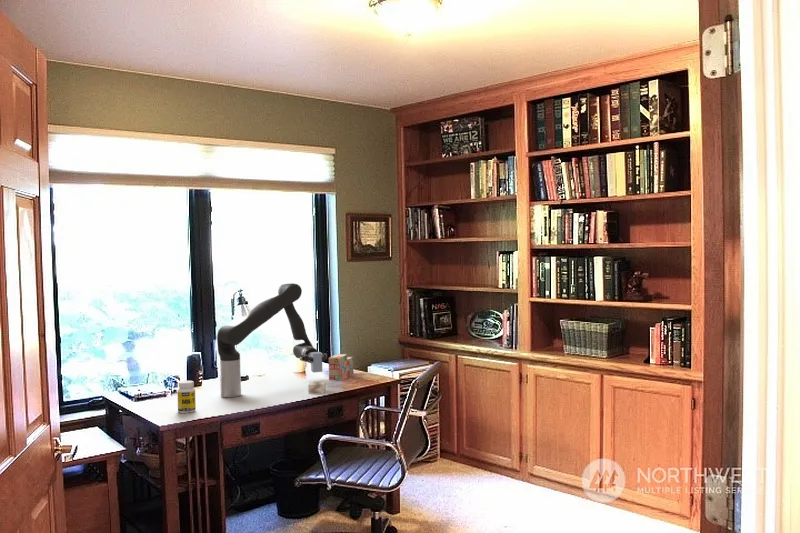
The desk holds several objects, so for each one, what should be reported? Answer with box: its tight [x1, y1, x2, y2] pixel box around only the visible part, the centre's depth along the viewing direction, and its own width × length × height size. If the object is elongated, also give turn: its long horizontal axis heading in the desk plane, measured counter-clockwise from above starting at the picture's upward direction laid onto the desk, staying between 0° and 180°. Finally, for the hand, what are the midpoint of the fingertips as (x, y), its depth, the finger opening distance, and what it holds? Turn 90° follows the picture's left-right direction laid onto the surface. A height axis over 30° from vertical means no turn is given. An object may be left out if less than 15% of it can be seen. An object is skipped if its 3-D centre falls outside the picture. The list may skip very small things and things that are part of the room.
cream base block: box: [307, 380, 327, 395], centre depth 315 cm, size 8×8×4 cm
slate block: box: [310, 351, 323, 373], centre depth 315 cm, size 4×4×9 cm
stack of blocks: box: [328, 353, 354, 382], centre depth 352 cm, size 21×6×12 cm, turn 165°
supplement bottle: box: [177, 380, 196, 414], centre depth 281 cm, size 7×7×13 cm
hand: (317, 359), depth 312 cm, fingers closed on slate block, 4 cm apart
